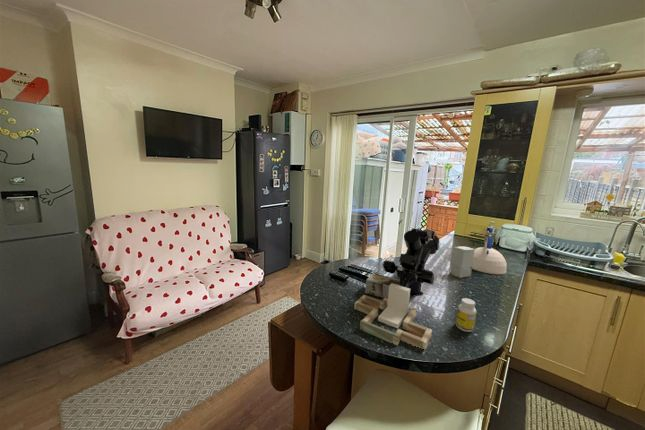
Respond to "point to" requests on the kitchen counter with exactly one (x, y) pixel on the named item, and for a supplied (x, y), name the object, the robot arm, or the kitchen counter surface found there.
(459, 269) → the skincare box
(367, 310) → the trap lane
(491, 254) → the pale pink dome
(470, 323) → the supplement bottle
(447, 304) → the kitchen counter surface
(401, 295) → the bookend
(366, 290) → the coffee box
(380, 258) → the kitchen counter surface
